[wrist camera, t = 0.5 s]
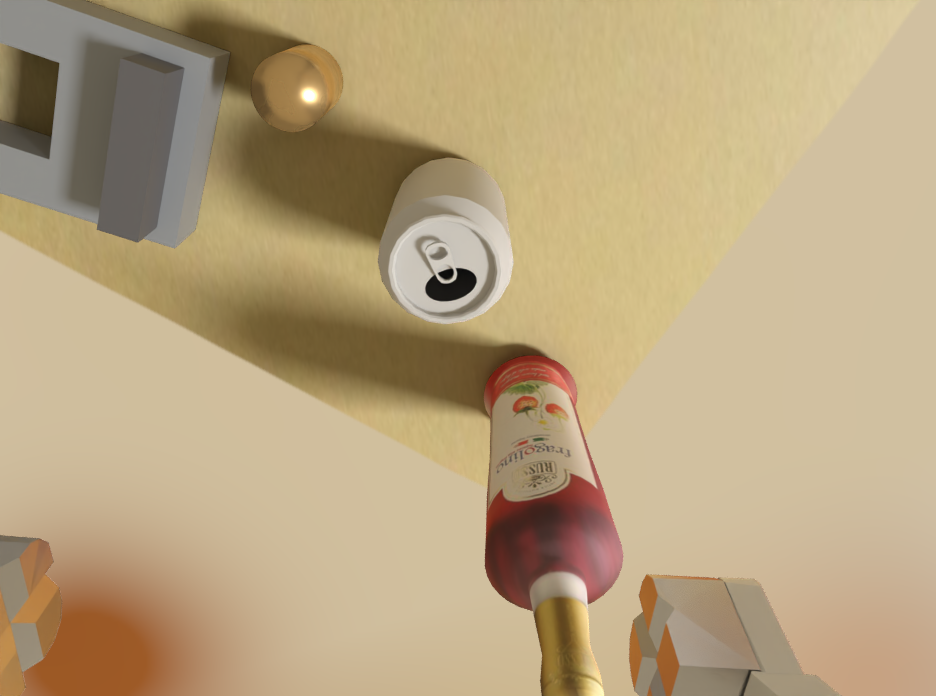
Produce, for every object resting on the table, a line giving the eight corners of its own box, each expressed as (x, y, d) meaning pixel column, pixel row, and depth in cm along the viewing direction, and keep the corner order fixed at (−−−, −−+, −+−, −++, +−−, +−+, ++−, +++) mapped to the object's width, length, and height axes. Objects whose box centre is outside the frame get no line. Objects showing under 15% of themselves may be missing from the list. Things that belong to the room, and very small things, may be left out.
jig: (-39, -45, 44) (-123, -48, 38) (230, 52, 47) (193, 63, 40) (-49, 151, 49) (-125, 176, 43) (195, 229, 52) (157, 264, 45)
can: (416, 276, 53) (402, 351, 42) (378, 174, 50) (353, 228, 39) (518, 245, 52) (531, 314, 41) (486, 139, 49) (491, 185, 38)
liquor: (564, 333, 55) (644, 632, 30) (587, 416, 58) (676, 750, 33) (468, 359, 56) (466, 670, 31) (495, 439, 59) (514, 781, 34)
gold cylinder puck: (284, 34, 46) (259, 41, 41) (350, 58, 47) (335, 68, 42) (269, 101, 48) (243, 117, 43) (333, 124, 49) (316, 142, 43)
